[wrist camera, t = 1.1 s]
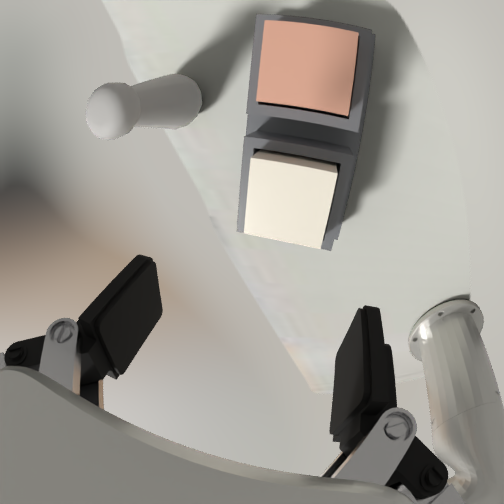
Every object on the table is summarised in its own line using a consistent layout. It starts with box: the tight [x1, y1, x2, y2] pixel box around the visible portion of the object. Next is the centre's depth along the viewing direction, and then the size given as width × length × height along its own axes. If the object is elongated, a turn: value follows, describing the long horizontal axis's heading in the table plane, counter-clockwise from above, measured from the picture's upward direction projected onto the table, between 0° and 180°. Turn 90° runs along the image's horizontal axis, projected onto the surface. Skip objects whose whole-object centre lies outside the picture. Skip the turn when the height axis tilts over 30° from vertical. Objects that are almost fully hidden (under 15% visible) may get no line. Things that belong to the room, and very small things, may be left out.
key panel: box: [237, 14, 375, 251], centre depth 21 cm, size 20×10×7 cm, turn 175°
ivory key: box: [244, 149, 338, 249], centre depth 21 cm, size 6×6×4 cm
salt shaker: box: [86, 74, 202, 140], centre depth 20 cm, size 6×6×13 cm
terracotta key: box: [256, 20, 359, 116], centre depth 16 cm, size 6×6×4 cm
